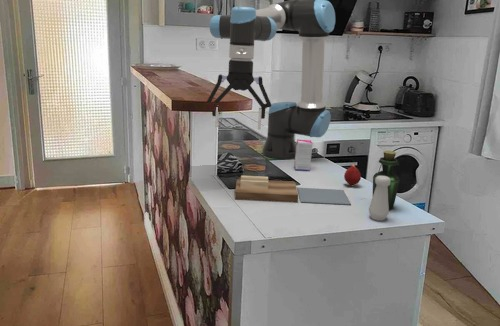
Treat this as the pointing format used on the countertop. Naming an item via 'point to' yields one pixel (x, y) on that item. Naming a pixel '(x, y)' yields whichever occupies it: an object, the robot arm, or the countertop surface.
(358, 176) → the onion
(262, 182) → the beech block
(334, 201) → the slate mat
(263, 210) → the countertop surface
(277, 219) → the countertop surface
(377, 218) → the salt shaker
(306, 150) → the supplement box
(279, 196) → the board
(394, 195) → the potion bottle
